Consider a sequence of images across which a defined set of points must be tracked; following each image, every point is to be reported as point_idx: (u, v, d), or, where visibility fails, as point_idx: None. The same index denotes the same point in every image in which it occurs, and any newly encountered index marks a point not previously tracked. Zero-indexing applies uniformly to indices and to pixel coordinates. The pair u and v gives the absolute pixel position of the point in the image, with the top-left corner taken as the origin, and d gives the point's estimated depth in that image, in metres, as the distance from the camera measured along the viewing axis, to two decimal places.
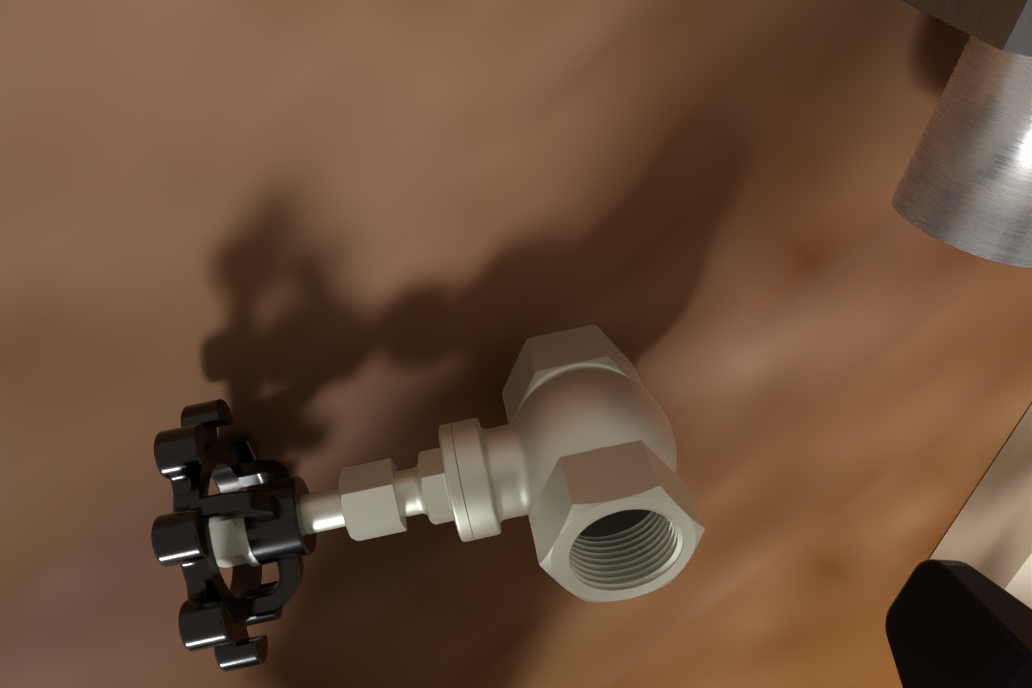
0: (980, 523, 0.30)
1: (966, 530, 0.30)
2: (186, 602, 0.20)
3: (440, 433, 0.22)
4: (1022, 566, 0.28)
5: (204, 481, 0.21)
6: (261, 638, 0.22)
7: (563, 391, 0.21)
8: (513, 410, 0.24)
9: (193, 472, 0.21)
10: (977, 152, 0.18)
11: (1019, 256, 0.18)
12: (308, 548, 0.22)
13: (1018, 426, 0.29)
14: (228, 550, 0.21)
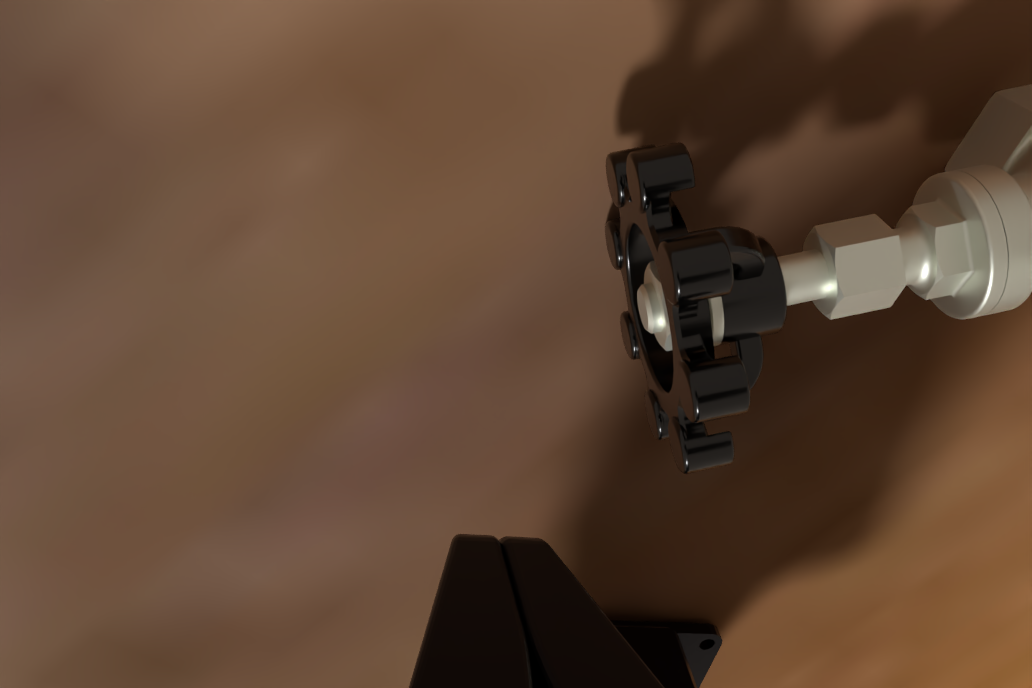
0: None
1: None
2: (686, 360, 0.15)
3: (951, 175, 0.17)
4: None
5: None
6: None
7: None
8: None
9: None
10: None
11: None
12: (784, 320, 0.17)
13: None
14: None
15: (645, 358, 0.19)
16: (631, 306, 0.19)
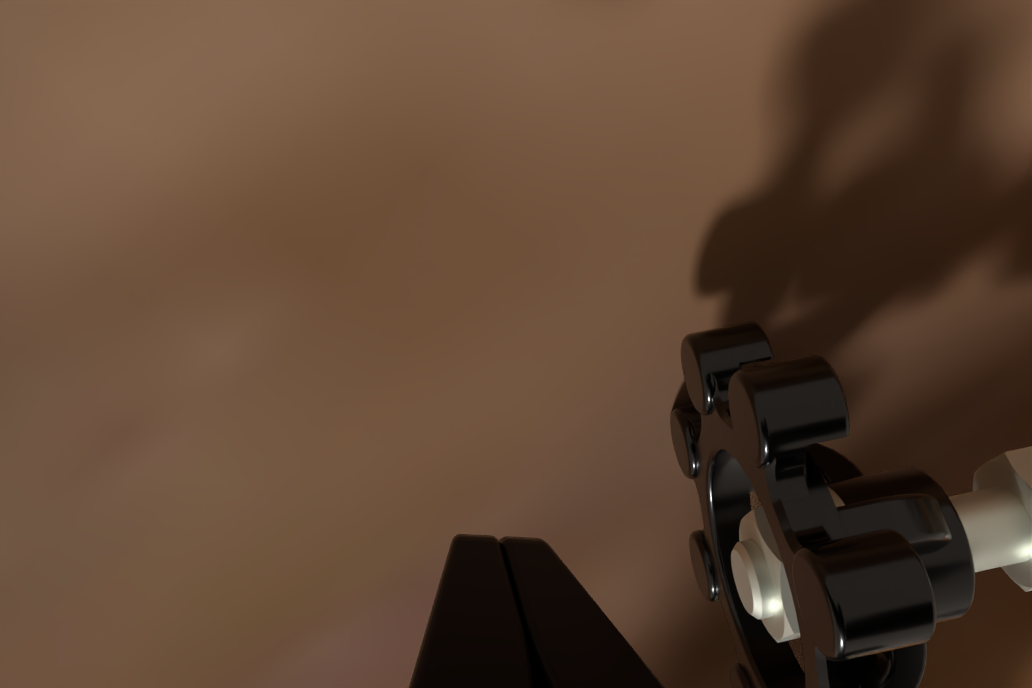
0: None
1: None
2: None
3: None
4: None
5: None
6: None
7: None
8: None
9: None
10: None
11: None
12: None
13: None
14: None
15: (735, 623, 0.13)
16: (712, 540, 0.13)
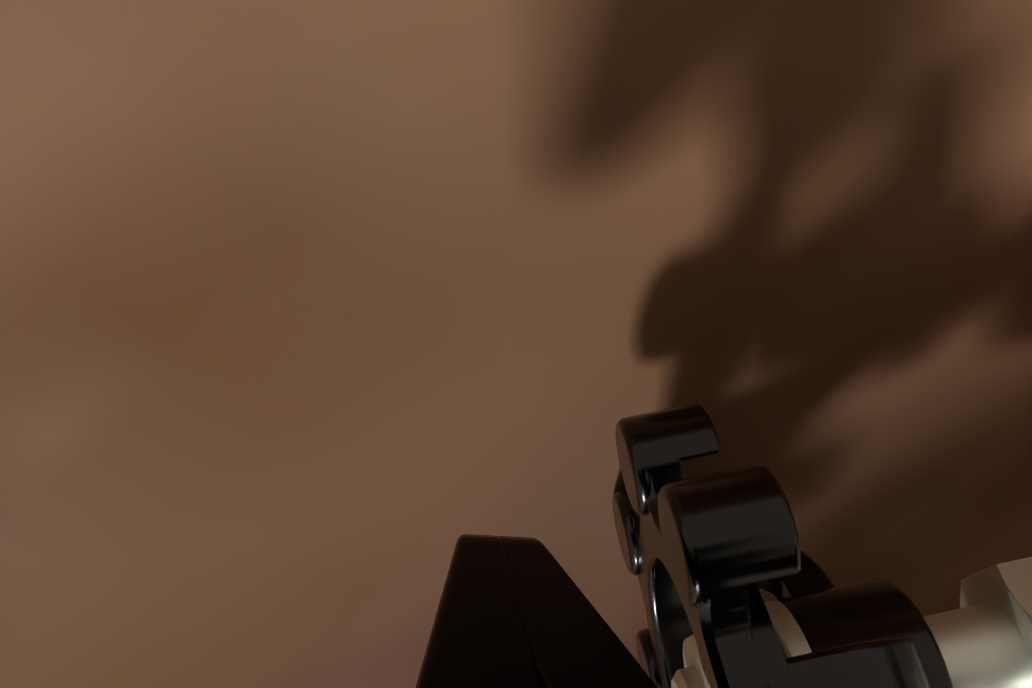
0: None
1: None
2: None
3: None
4: None
5: None
6: None
7: None
8: None
9: None
10: None
11: None
12: None
13: None
14: None
15: None
16: (657, 649, 0.11)
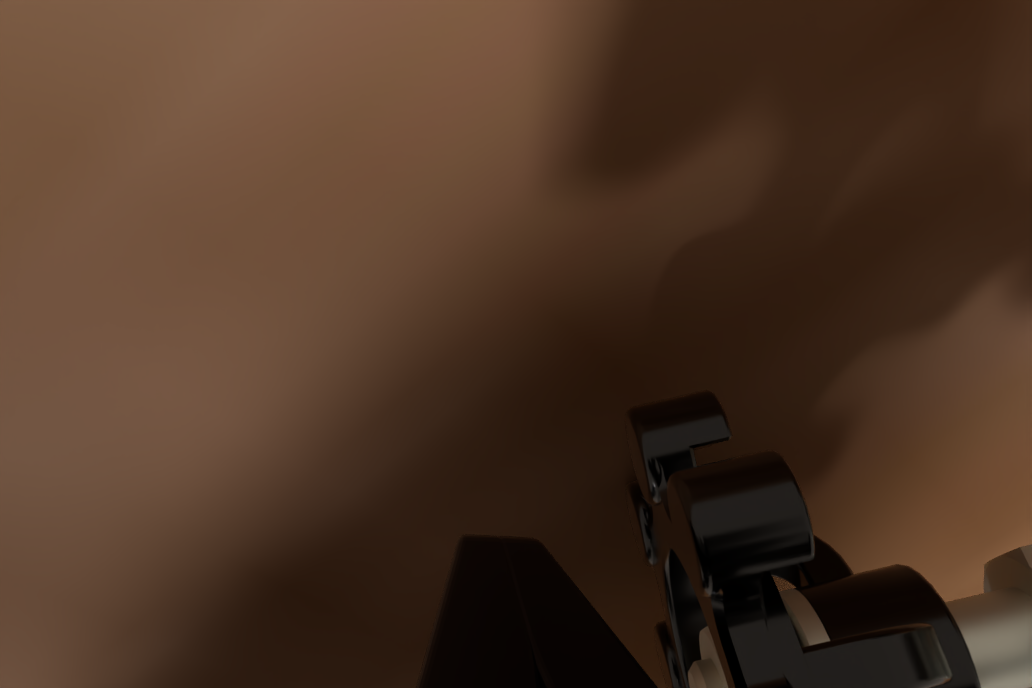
0: None
1: None
2: None
3: None
4: None
5: None
6: None
7: None
8: None
9: None
10: None
11: None
12: None
13: None
14: None
15: None
16: (674, 642, 0.11)
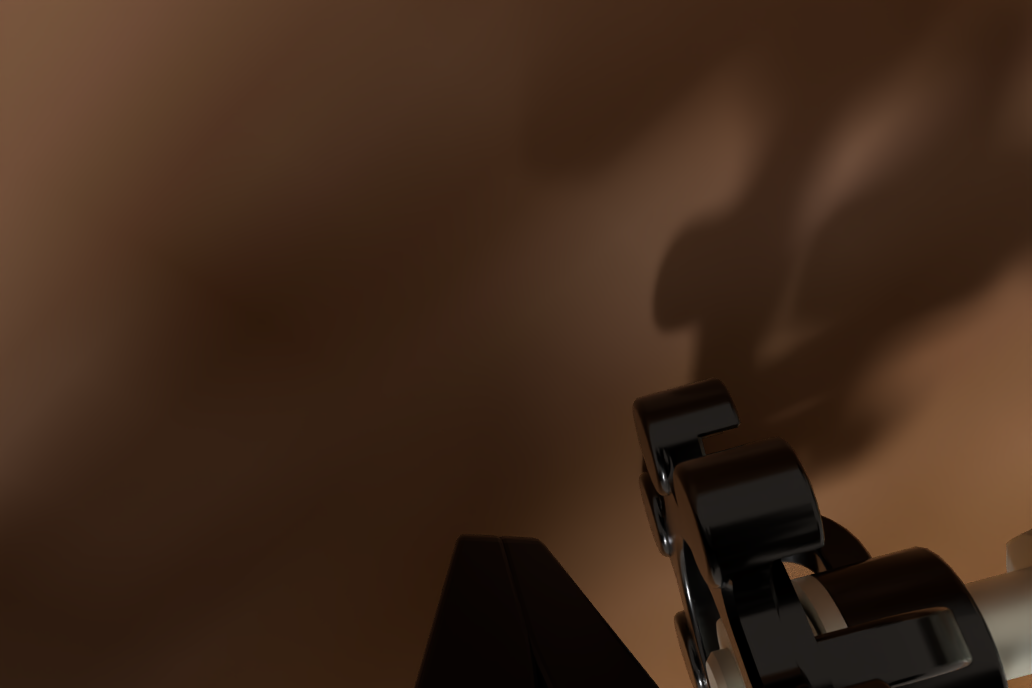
0: None
1: None
2: None
3: None
4: None
5: None
6: None
7: None
8: None
9: None
10: None
11: None
12: None
13: None
14: None
15: None
16: (693, 632, 0.11)
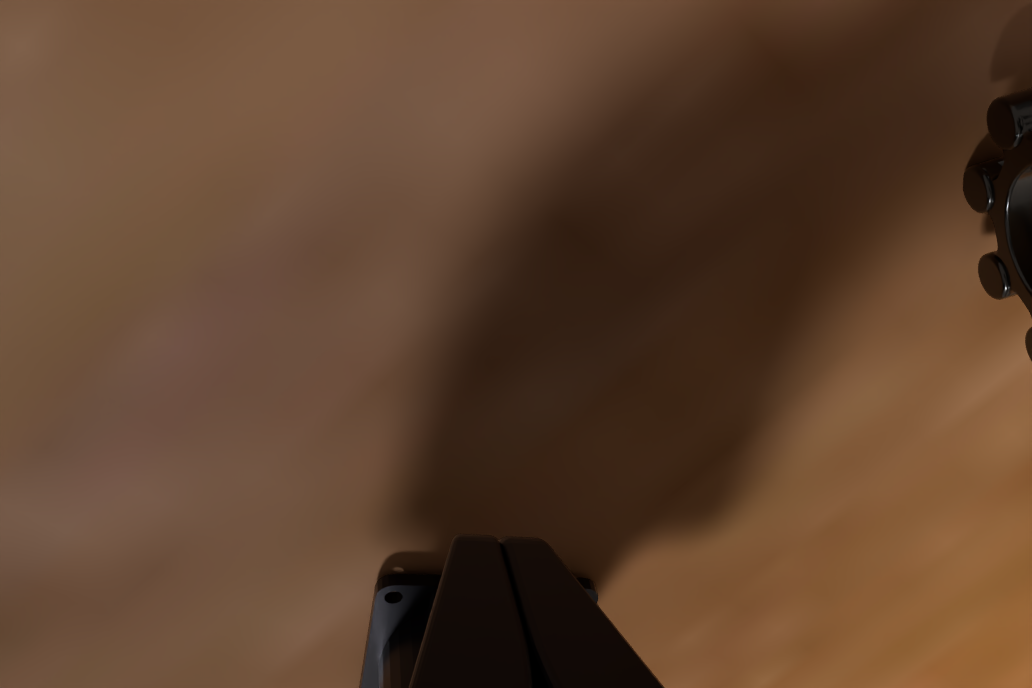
0: None
1: None
2: None
3: None
4: None
5: None
6: None
7: None
8: None
9: None
10: None
11: None
12: None
13: None
14: None
15: None
16: (1008, 247, 0.20)
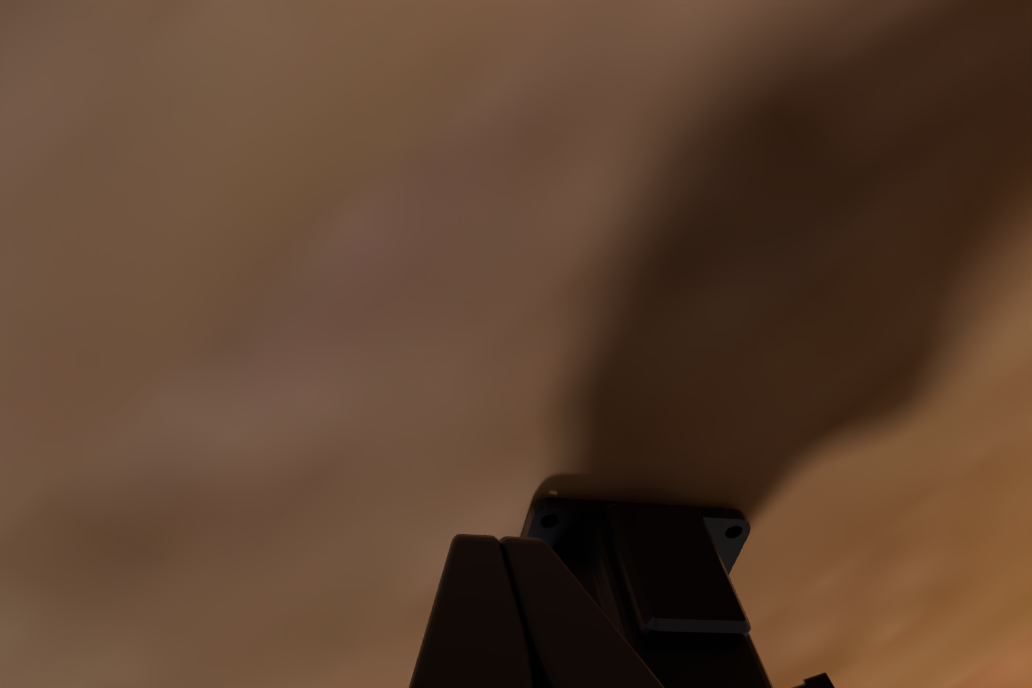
0: None
1: None
2: None
3: None
4: None
5: None
6: None
7: None
8: None
9: None
10: None
11: None
12: None
13: None
14: None
15: None
16: None
